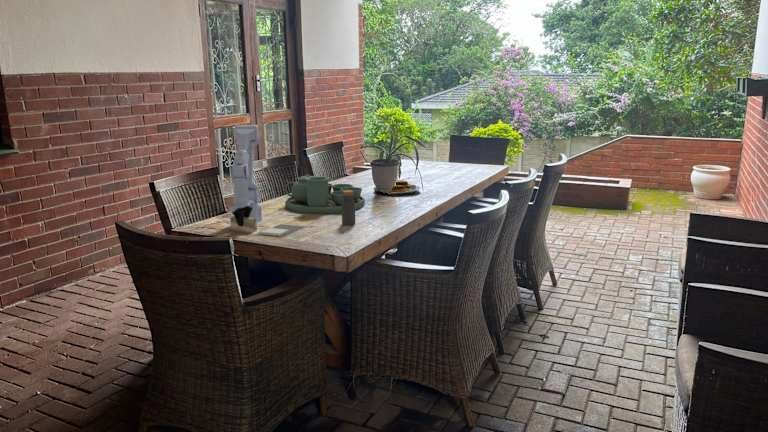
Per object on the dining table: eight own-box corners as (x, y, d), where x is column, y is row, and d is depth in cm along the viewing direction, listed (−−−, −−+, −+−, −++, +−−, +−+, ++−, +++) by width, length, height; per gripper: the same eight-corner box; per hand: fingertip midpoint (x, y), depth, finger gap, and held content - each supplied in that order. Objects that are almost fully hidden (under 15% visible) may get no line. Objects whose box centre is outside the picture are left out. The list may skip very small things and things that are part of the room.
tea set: (376, 210, 298) (375, 177, 294) (296, 217, 282) (295, 182, 279) (349, 196, 333) (348, 166, 330) (277, 202, 318) (276, 171, 315)
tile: (270, 227, 254) (288, 229, 251) (270, 230, 255) (288, 232, 251) (260, 231, 248) (279, 233, 245) (260, 234, 248) (279, 236, 245)
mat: (280, 225, 266) (280, 224, 266) (306, 228, 261) (306, 226, 261) (254, 236, 248) (254, 234, 248) (281, 239, 243) (281, 237, 243)
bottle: (355, 222, 270) (354, 189, 267) (355, 225, 265) (354, 192, 261) (342, 222, 270) (341, 189, 267) (341, 225, 264) (341, 192, 261)
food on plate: (398, 199, 325) (398, 187, 323) (367, 193, 342) (367, 181, 341) (429, 192, 342) (430, 181, 341) (398, 187, 360) (398, 176, 358)
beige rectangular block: (235, 229, 259) (234, 215, 258) (256, 231, 255) (256, 217, 254) (231, 231, 256) (230, 217, 255) (252, 233, 252) (252, 219, 251)
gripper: (238, 197, 244) (240, 229, 247) (259, 190, 257) (260, 221, 260) (224, 195, 247) (226, 228, 250) (245, 189, 260) (247, 220, 263)
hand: (243, 224), depth 255 cm, fingers closed on beige rectangular block, 3 cm apart
